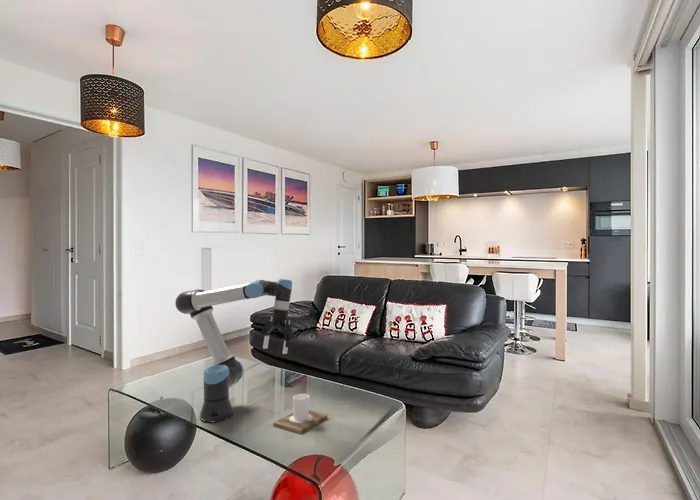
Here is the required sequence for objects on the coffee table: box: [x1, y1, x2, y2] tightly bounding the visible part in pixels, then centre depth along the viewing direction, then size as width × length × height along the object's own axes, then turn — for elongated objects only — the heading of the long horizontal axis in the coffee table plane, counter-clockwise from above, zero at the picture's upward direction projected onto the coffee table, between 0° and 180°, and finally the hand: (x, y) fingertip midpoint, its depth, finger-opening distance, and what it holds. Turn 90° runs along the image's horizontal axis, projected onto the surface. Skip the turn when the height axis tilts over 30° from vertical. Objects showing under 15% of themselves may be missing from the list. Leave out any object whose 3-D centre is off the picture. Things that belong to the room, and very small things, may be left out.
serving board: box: [272, 409, 328, 435], centre depth 178 cm, size 20×16×2 cm
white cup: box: [292, 393, 311, 421], centre depth 179 cm, size 8×8×10 cm
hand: (274, 351), depth 194 cm, fingers open, 13 cm apart
